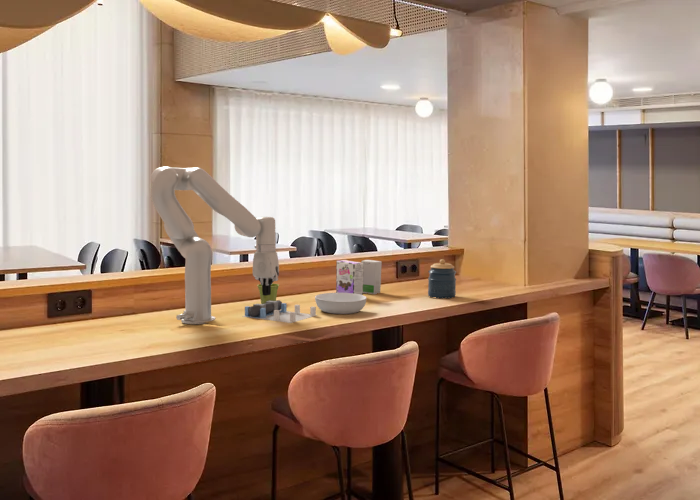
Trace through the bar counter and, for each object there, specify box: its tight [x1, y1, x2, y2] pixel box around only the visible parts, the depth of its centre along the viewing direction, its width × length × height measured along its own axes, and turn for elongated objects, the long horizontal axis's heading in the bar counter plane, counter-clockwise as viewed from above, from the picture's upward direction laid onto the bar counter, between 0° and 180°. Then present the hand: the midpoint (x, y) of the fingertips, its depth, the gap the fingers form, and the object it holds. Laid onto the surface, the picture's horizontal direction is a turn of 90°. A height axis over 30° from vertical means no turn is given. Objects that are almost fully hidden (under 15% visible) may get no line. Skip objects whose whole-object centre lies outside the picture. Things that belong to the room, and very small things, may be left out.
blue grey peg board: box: [242, 302, 318, 324], centre depth 269 cm, size 18×23×4 cm
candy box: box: [335, 259, 364, 296], centre depth 321 cm, size 14×6×16 cm, turn 37°
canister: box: [427, 258, 457, 299], centre depth 323 cm, size 13×13×18 cm
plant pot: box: [256, 283, 280, 304], centre depth 298 cm, size 9×9×9 cm
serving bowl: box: [314, 292, 367, 315], centre depth 281 cm, size 21×21×7 cm
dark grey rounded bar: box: [248, 299, 283, 317], centre depth 272 cm, size 17×4×4 cm, turn 149°
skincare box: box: [360, 259, 383, 295], centre depth 332 cm, size 8×7×16 cm
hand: (266, 294), depth 272 cm, fingers closed
